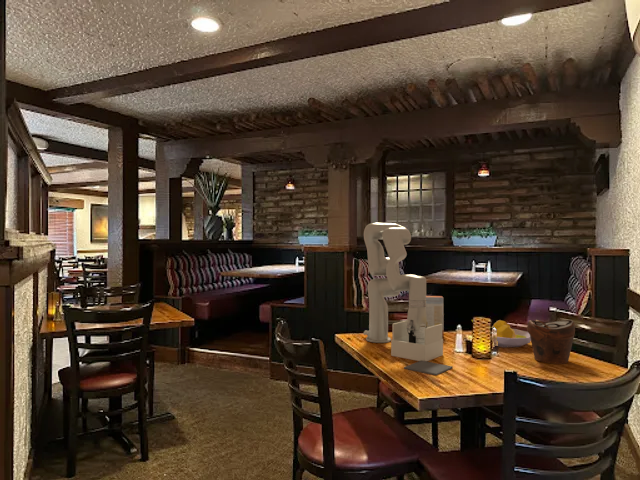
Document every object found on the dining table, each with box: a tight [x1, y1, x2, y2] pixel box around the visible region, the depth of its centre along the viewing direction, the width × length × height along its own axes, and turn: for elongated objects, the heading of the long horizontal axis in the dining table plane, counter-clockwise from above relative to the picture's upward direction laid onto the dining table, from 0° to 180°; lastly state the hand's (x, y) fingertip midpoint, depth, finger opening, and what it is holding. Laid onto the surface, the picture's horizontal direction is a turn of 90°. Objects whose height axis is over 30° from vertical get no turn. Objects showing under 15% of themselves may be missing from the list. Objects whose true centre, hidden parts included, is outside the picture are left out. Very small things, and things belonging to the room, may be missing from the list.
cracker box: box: [426, 295, 445, 336], centre depth 256 cm, size 14×6×21 cm, turn 84°
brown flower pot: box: [526, 319, 576, 365], centre depth 202 cm, size 18×20×18 cm
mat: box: [403, 361, 454, 376], centre depth 188 cm, size 14×14×1 cm
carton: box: [390, 319, 444, 362], centre depth 209 cm, size 17×17×14 cm
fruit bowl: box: [470, 319, 531, 348], centre depth 233 cm, size 28×27×11 cm
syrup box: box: [412, 324, 425, 345], centre depth 209 cm, size 6×6×14 cm
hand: (417, 342), depth 209 cm, fingers closed on syrup box, 8 cm apart
